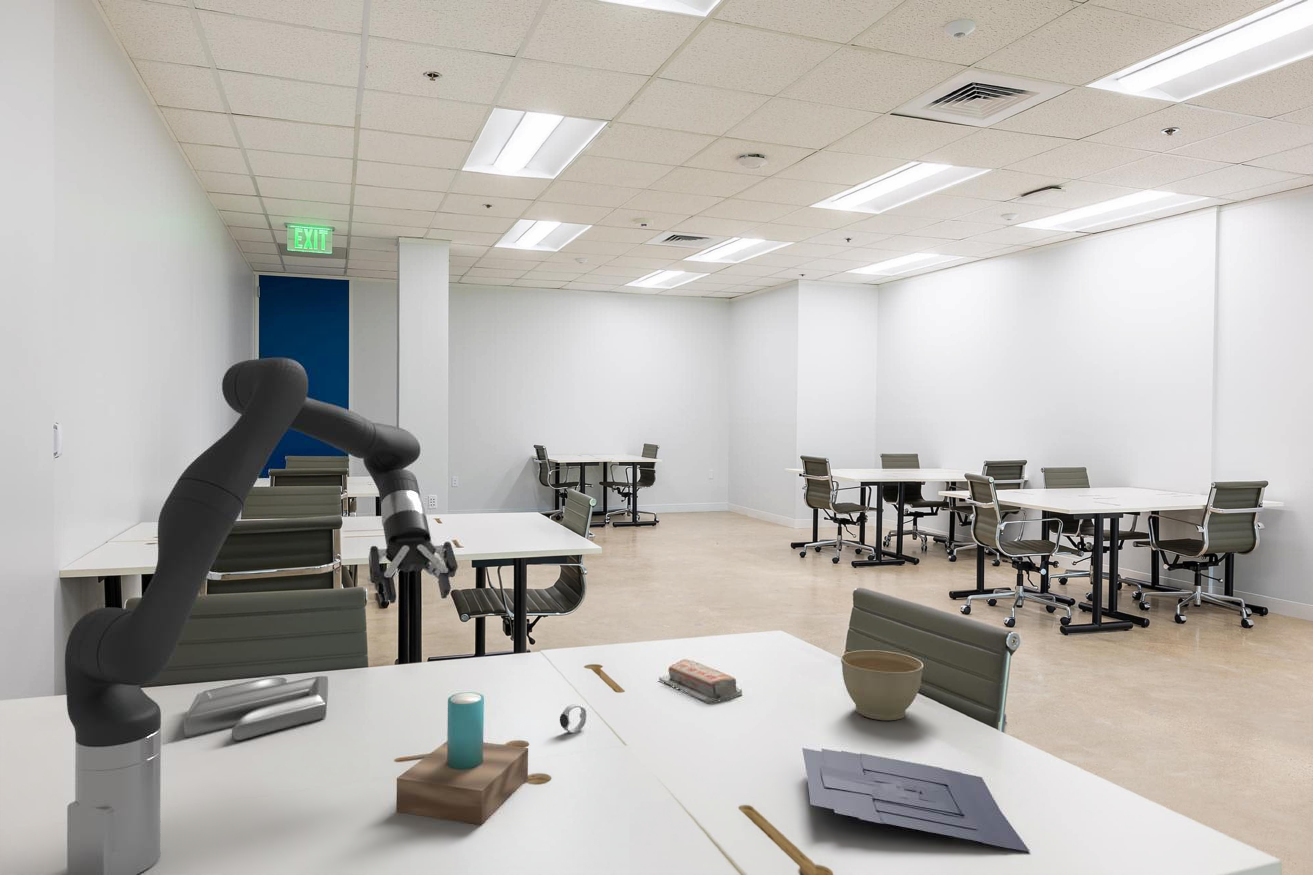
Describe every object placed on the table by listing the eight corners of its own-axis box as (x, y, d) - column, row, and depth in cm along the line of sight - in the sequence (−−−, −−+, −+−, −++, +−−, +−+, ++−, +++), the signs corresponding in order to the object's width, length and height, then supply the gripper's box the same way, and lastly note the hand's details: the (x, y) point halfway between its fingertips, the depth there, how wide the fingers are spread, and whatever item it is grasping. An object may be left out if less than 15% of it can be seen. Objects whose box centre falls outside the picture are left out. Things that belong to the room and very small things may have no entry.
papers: (799, 759, 138) (802, 738, 138) (978, 792, 135) (981, 770, 135) (808, 829, 114) (812, 804, 114) (1027, 872, 111) (1031, 846, 111)
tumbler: (471, 771, 122) (472, 706, 122) (440, 766, 124) (440, 701, 124) (489, 757, 128) (490, 694, 127) (459, 751, 129) (460, 690, 129)
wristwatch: (558, 732, 151) (559, 706, 151) (579, 726, 155) (579, 700, 155) (568, 737, 149) (568, 710, 149) (589, 730, 153) (589, 704, 153)
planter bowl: (939, 722, 160) (940, 667, 160) (872, 732, 154) (873, 675, 154) (888, 696, 175) (889, 646, 175) (824, 704, 169) (825, 653, 169)
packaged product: (744, 674, 174) (708, 683, 168) (744, 697, 174) (708, 706, 168) (693, 654, 189) (658, 661, 183) (692, 675, 189) (658, 682, 183)
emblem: (248, 662, 175) (364, 673, 169) (248, 687, 175) (364, 698, 169) (141, 707, 148) (276, 720, 142) (141, 736, 148) (275, 750, 142)
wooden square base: (481, 825, 116) (482, 790, 116) (396, 811, 120) (396, 778, 120) (527, 778, 132) (528, 748, 132) (450, 767, 135) (451, 737, 135)
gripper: (366, 510, 138) (378, 589, 128) (448, 506, 145) (466, 581, 135) (360, 536, 143) (372, 615, 133) (440, 532, 150) (457, 606, 140)
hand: (419, 598), depth 134 cm, fingers open, 8 cm apart
